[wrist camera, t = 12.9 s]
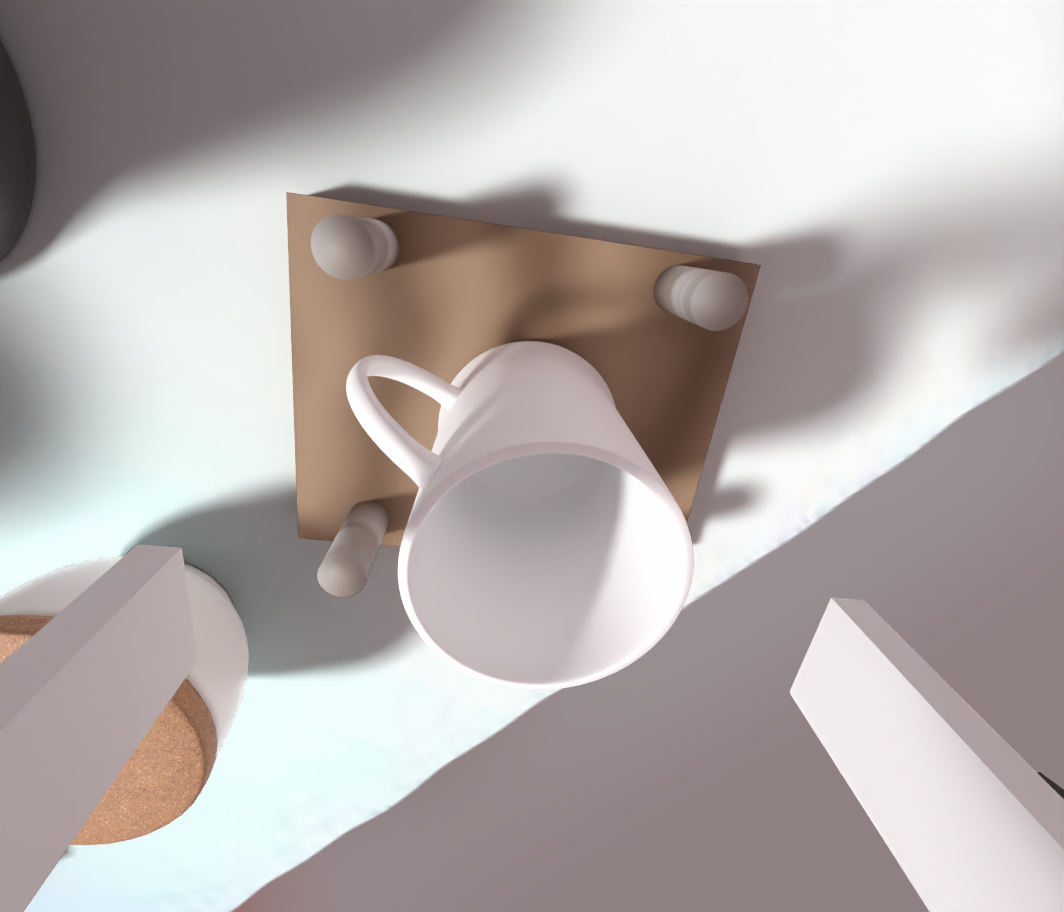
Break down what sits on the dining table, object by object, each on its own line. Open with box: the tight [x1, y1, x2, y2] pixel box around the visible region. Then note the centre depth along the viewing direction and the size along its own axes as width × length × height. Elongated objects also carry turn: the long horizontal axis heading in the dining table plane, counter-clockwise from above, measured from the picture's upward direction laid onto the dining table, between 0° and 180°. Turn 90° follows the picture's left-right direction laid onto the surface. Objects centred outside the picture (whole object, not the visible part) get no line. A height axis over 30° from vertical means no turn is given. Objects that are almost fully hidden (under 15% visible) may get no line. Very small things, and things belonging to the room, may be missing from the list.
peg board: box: [286, 192, 761, 597], centre depth 23 cm, size 20×16×7 cm
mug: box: [346, 341, 694, 690], centre depth 19 cm, size 12×8×12 cm
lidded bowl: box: [0, 556, 249, 845], centre depth 25 cm, size 13×13×11 cm
